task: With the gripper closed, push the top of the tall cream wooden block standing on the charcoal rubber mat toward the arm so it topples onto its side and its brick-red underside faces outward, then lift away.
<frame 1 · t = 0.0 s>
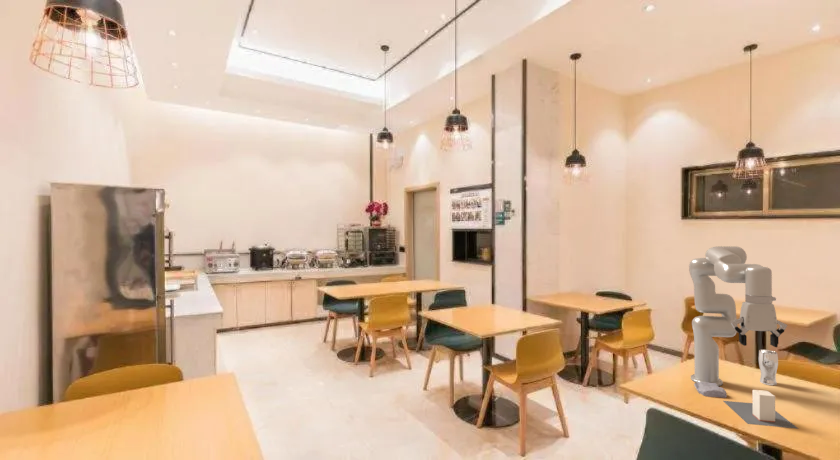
hand: (758, 345, 149), 31 cm above the table, tool pointing down, fingers open, 9 cm apart
cream block: (763, 418, 155), point 1 cm above the table, touching charcoal mat
stone block: (708, 394, 179), on the table
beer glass: (768, 383, 189), on the table
charcoal mat: (757, 415, 159), on the table
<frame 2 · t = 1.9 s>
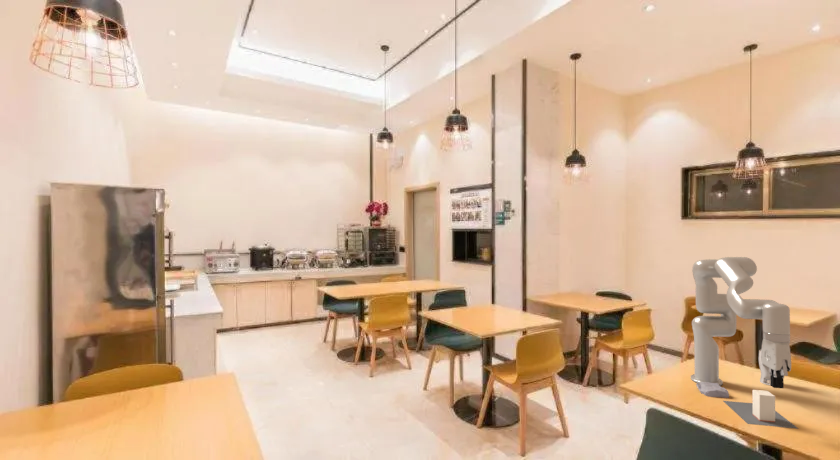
hand: (777, 387, 146), 17 cm above the table, tool pointing down, fingers closed
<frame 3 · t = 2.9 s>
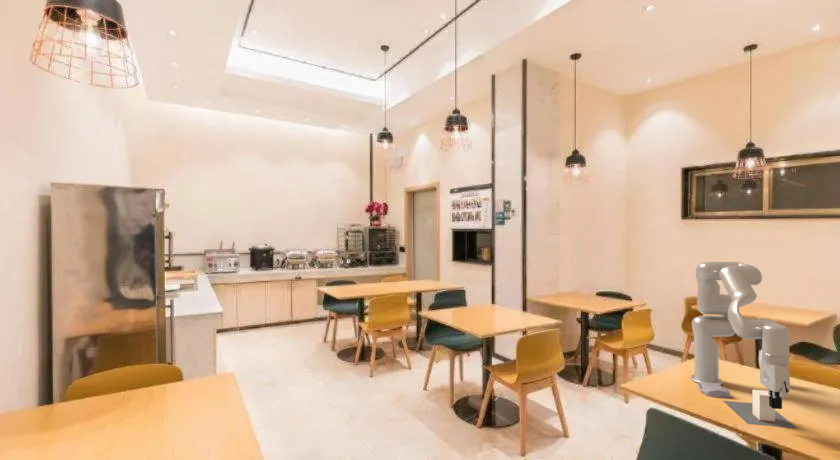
hand: (775, 407, 147), 9 cm above the table, tool pointing down, fingers closed
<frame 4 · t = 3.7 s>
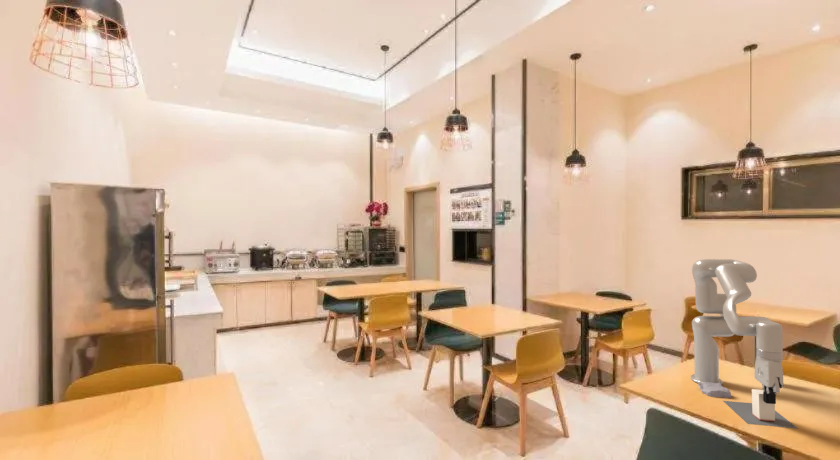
hand: (769, 402, 151), 9 cm above the table, tool pointing down, fingers closed
cream block: (763, 418, 155), point 1 cm above the table, touching charcoal mat, gripper
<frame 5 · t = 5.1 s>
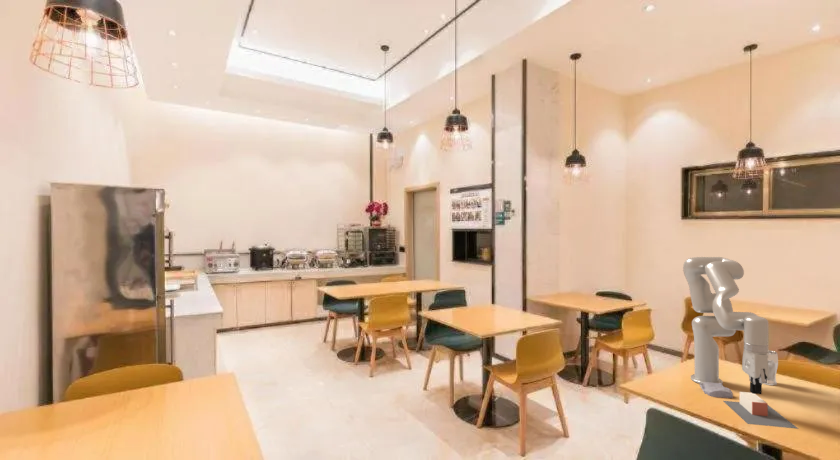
hand: (755, 393, 160), 8 cm above the table, tool pointing down, fingers closed
cream block: (760, 409, 157), point 3 cm above the table, tilted 90°, touching charcoal mat
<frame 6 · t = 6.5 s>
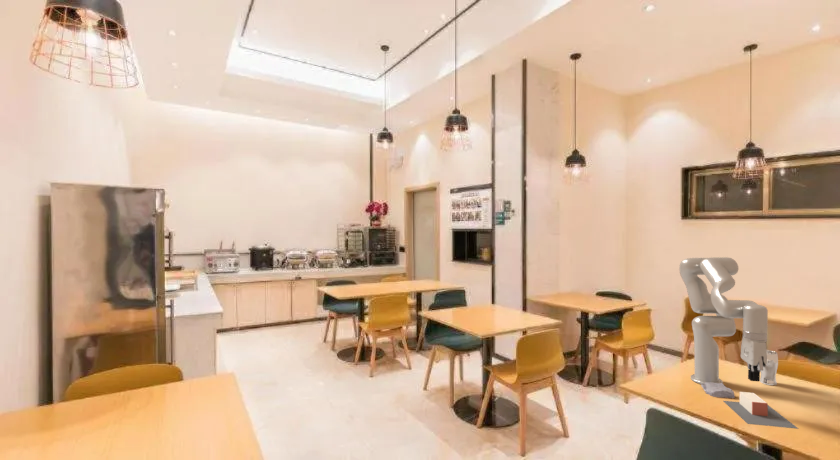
hand: (753, 380, 161), 13 cm above the table, tool pointing down, fingers closed
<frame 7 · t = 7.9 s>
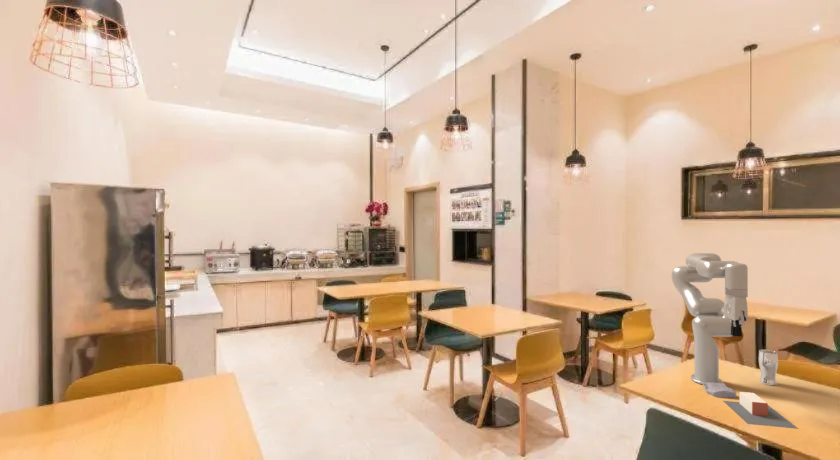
hand: (736, 335, 168), 29 cm above the table, tool pointing down, fingers closed
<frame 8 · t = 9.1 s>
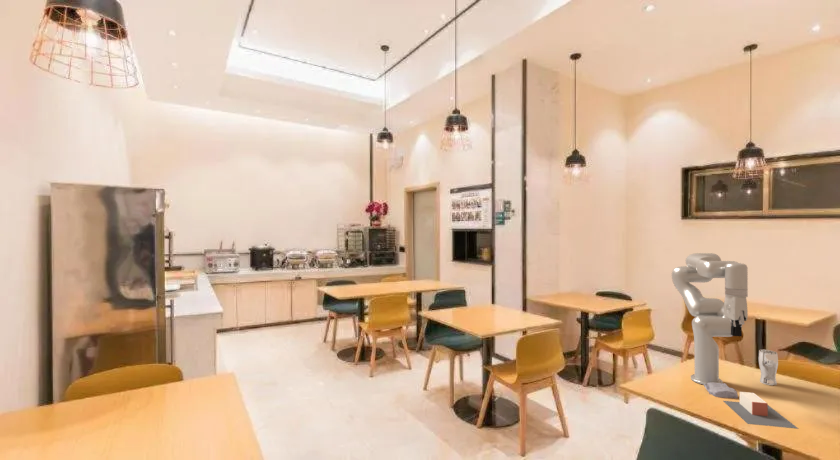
hand: (736, 335, 168), 29 cm above the table, tool pointing down, fingers closed
at the end: cream block tilted 90°; cream block inside the target area on the charcoal mat (1.5 cm from its centre), point 3.3 cm above the charcoal mat's base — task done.
